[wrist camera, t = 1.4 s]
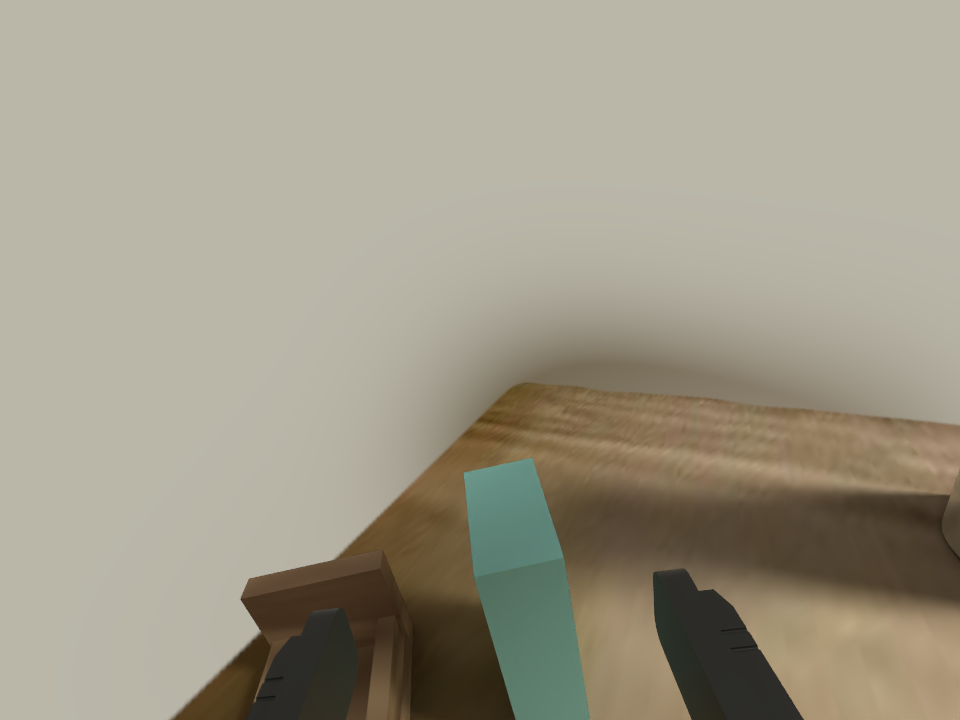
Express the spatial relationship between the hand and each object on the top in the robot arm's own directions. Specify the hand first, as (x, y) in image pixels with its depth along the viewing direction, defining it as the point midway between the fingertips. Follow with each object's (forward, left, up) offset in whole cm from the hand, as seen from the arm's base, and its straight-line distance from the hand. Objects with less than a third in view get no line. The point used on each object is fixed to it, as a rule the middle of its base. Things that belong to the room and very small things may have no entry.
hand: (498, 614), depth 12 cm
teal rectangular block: (-8, -6, -20) cm, 22 cm away
